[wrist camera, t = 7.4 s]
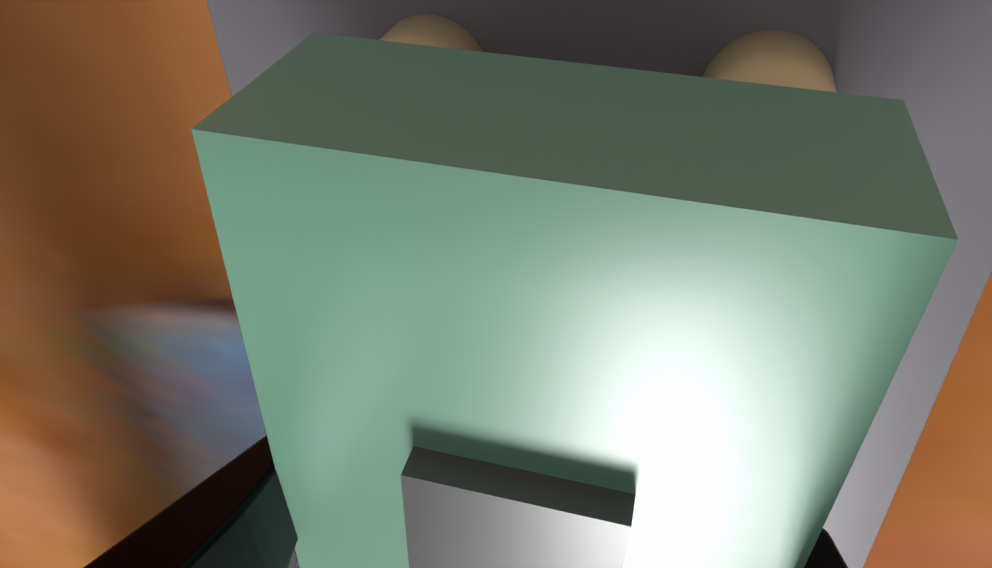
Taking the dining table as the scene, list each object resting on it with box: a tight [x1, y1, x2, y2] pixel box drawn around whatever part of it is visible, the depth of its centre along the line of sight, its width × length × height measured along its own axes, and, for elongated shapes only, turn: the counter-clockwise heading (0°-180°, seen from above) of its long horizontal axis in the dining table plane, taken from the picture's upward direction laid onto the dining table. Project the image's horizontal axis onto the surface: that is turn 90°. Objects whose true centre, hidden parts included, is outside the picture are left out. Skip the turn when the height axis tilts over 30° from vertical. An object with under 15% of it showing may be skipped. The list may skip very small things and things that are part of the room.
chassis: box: [207, 0, 992, 568], centre depth 12 cm, size 14×11×3 cm
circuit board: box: [191, 33, 958, 568], centre depth 10 cm, size 10×6×3 cm, turn 179°
